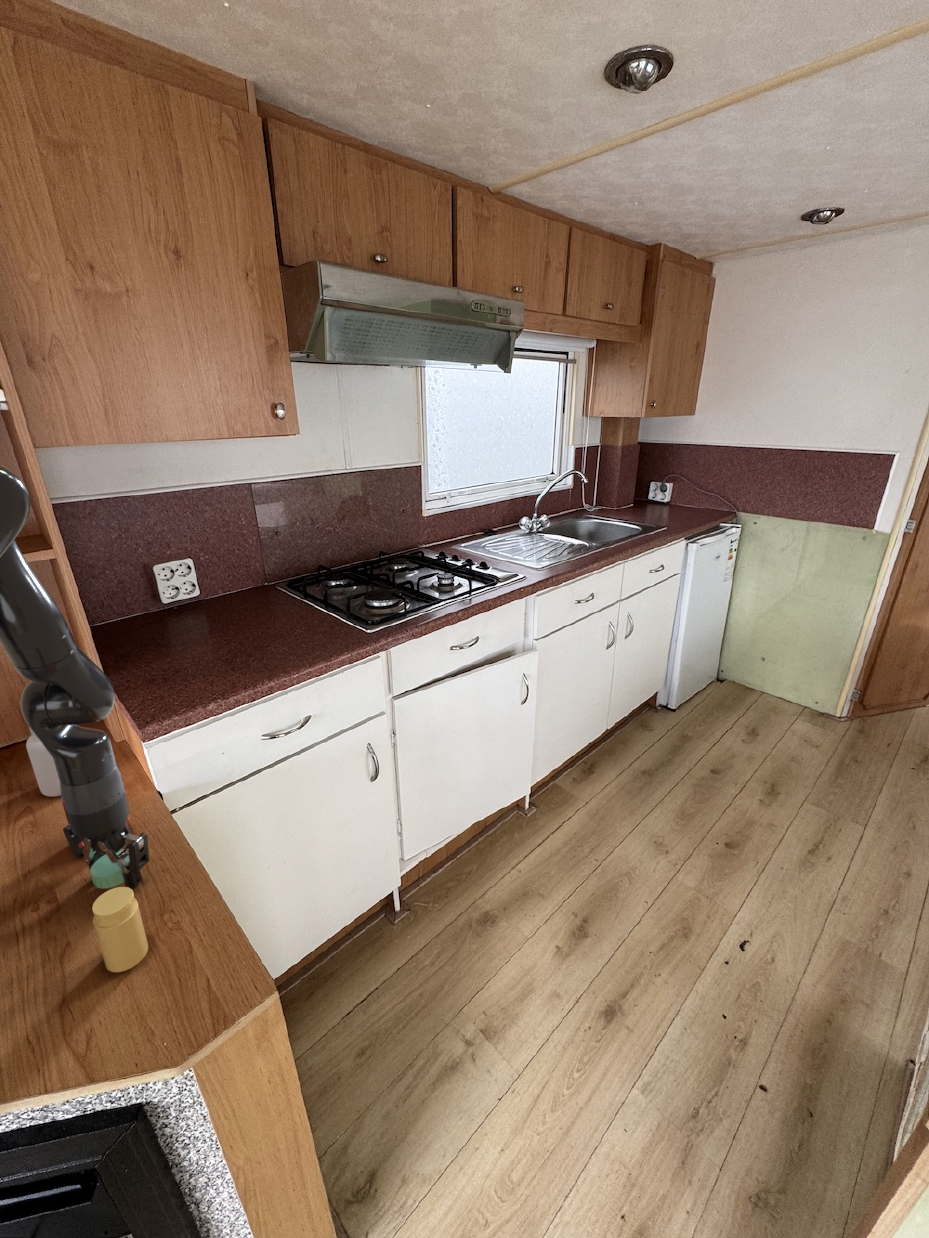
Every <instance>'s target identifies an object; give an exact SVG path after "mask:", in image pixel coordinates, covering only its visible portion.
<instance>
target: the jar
mask: <svg viewBox="0 0 929 1238" xmlns="http://www.w3.org/2000/svg"><path fill="white" fill-rule="evenodd" d="M91 909H92V914H93V917H92V924H93V927H94V932H95V935H96V938H97V941H98V945H99V948H100V949H99V950H100V952H101V956H102V959H103V963H104V966H105V968H106V969H107V970H108V971H109V972H111V973H122V972H125V971H128V970H130V969H132V968H134V967H135V966H137V965H138V964H140V962H141V961H143V959H144V958H145V957H146V955H147V954H148V951H149V941H148V937H147V935H146V930H145V927H144V923H143V922H144V921H143V917H142V914H141V909H140V906H139V901H138V900H137V899H136V898H135V893H134V890H132V889H130V888H129V887H126V886H116V887H112V888H110V889H109V890H107V891H105V892H104V893H101V894H100V895H99V896H98V897H97V898H96V900H94V902H93V904H92V908H91Z"/></svg>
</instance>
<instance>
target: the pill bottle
mask: <svg viewBox="0 0 929 1238" xmlns="http://www.w3.org/2000/svg"><path fill="white" fill-rule="evenodd" d="M28 728H29V731H30V734H31V735H30V736H29V737H28V739H26V744H25V748H26V752H27V754H28V758H29V760H30V764H31V767H32V770H33V773H34V777H35V779H36V782H37V785H38V788H39V791H40V793H41V794H42V795H44V796H45V797H50V798H51V797H52V798H53V797H62V795H61V788H60V781H59V777H58V774H57V770H56V767H55V763H54V760H53V757H52V756H51V754H50V753H49V752H48V751H47V749H46V748H45V747H44V745H43V744H42V742H41V741H40V740H39V738H38V737H37V736H36V735H35V733H34V732H33V731H32V729H31V728H30V727H29V726H28Z"/></svg>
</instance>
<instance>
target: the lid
mask: <svg viewBox="0 0 929 1238" xmlns="http://www.w3.org/2000/svg"><path fill="white" fill-rule="evenodd" d="M124 849H125V848H122V849H121V850H119V851H118V852H117V853H116V854H117V856H118V855H119V854H120V853H121V852H122V851H123V850H124ZM103 855H104V856H102V857H101V858H99V859H98V860H97V861H96V862H95V863H94V864H93V865H92V867H91V869H90V868H89V873H90V878H91V881H92V884H93V885H94V886H95V887H96V888H98V889H104V890H105V889H112V888H116V887H118V886H119V885H121V884H123V883H125V882H124V878H123V874H122V873H123V872H122V870H121V869H120V867H119V866H118V864H117V863H116V864H113V863H112V862H111V860H110V859H109V857H108V856H107V854H103ZM125 862H126V863H127V864H128V863H129V862H130V861H129V856H127V857H126V858H125Z"/></svg>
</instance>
